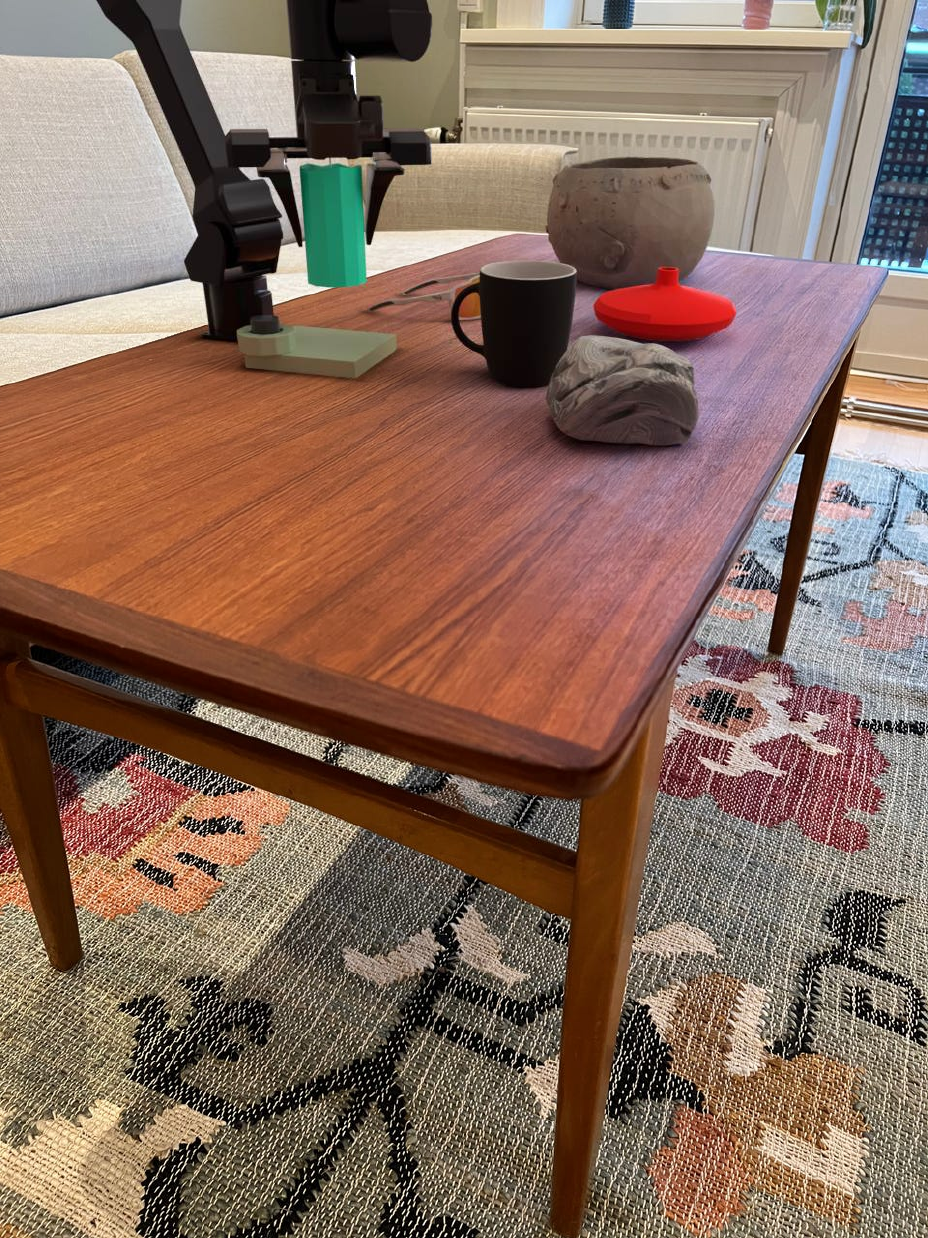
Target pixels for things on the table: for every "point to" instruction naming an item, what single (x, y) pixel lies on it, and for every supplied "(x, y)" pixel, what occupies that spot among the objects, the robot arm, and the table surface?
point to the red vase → (664, 310)
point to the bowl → (630, 218)
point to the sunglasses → (442, 296)
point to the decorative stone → (623, 393)
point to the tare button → (265, 324)
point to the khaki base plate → (315, 350)
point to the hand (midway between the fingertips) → (334, 245)
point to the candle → (333, 224)
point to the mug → (522, 319)
